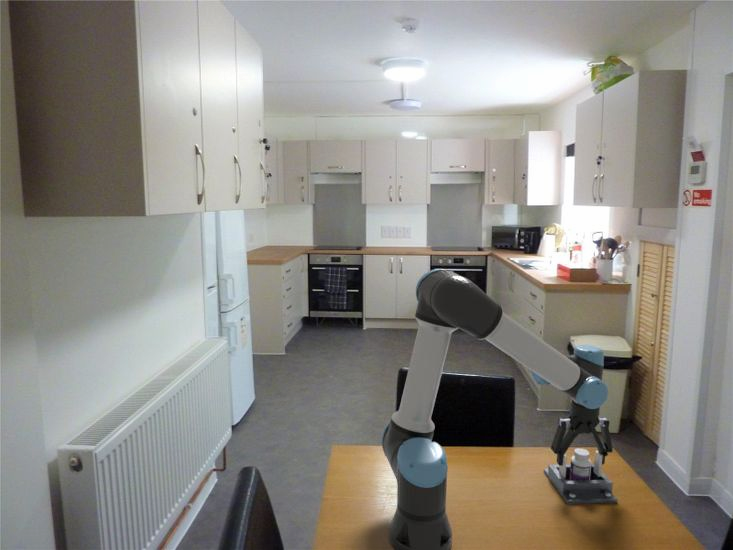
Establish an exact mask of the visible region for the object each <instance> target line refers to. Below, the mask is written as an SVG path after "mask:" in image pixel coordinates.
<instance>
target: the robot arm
mask: <svg viewBox="0 0 733 550" xmlns="http://www.w3.org/2000/svg"><path fill="white" fill-rule="evenodd" d="M415 296H416V300H417V304H416V306H417V307H416V310H415V313H414V314H415V315H414V318H415V320H416V321H417V323H418V328H417V332H416V337H415V340H414V341H415V342H414V345H413V349H412V352H411V357H410V362H409V366H408V371H407V374H406V379H405V383H404V388H403V391H402V392H403V393H402V395H401V401H400V405H399V408H398V410H397V411H395V412H393V413H392V414H391V419H390V421H389V422H388V423H387V424H386V425H385V427H383V431H382V433H381V447H382V450H383V453H384V456H385V458H386V459H387V462H388V464H389V465H390V469H391V470H392V473H393V474H394V476H395V479H396V483H397V484H396V486H397V487H396V489H397V491H396V494H397V495H396V504H397V505H396V509H395V511H394V514H393V518H392V520H391V523H390V525H389V542H390V544H391V546H392V547H393V549H394V550H451V548H452V544H453V532H452V531H453V530H452V528H451V524H450V521H449V518H448V515H447V509H446V506H447V505H446V504H447V481H448V480H447V479H448V472H449V471H448V469H449V465H448V457H447V454H446V451H445V449H444V448H443V447H442V445H440V444H439V443H438V442H436V441H432V440H433V437H434V433H435V432H434V431H435V428H436V427H435V423H434V422H433V420H432V415H433V411H434V407H435V403H436V399H437V394H438V391H439V387H440V383H441V379H442V378H441V377H442V375H443V371H444V370H443V369H444V366H445V362H446V358H447V354H448V350H449V346H450V342H451V337H452V333H453V332H455V331H457V330H461V331H463V332H464V333H467V334H468V335H471V336H472V337H474V338H475V339H476V340H478V341H479V340H480V341H481V340H482V341H484V340H485V341H487V342H488V343H490V344H492V345H493V346H494V347H496V348H497V349H499V350H500V351H501V352H503V353H505V354H506V355H507V356H509V357H511V358H512V359H514V360H516V362H518V363H519V364H521V365H523V366H524V367H526V368H527V369H529V370H530V372H531V376H532V379H533V380H534V382H535V383H536V384H537V385H540V386H543V385H544V386H550V385H551V386H554V387H555V388H556V389H558V390H559V391H560V392H562V393H564V394H565V395H566V396H568V397H569V398H571V399H570V407H569V417H568V418H562V417H558V419H557V420H558V422H557V423H558V425H557V429H556V431H555V434H554V436H553V439H552V442H551V446H550V449H551V451H552V452H553V453H554V454H555V455H556V462H557V463H556V464H558V465H559V472H560V473H561V475H562V476H563V477H564V478H565V477H566V464H568V463H567V461H568V460H567V459H568V455H566V452H567V451H568V450H569V448H570V446H571V445H572V443H573V442H574V440H575V439H576V438H577V437H578V436H579V435H581V434H590V436H591V438H592V440H593V442H594V444H595V446H596V448H597V450H595V451H594V462H593V464H594V471H593V472H594V473H595V474H596V475H597V476H598V477H601V471H602V469H603V468H602V466H603V465H605V461H606V457H608V455H609V454H610V453H611V454H612V453H613V451H614V450H613V444H612V438H611V433H610V421H609V420H608V418H606V417H605V416H602V417H600V408H601V407H602V406H603V405H604V404H605V403H606V401H607V399H608V397H609V389H608V386H607V384H606V383H605V382H603V374H604V366H605V364H604V363H605V362H604V361H605V355H604V351H603V350H602V349H601V348H599V347H598V346H594V345H589V344H579V345H576V346H575V347H574V350H573V354H567V355H564V354H563V353H561V352H560V351H559V350H557V349H556V348H554V347H553V346H552V345H550V344H549V343H548V342H545V341H544V340H543V339H542V338H540V337H539V336H537V335H536V334H535V333H533V332H531V331H530V330H529V329H527V328H526V327H524V326H523V325H522V324H520V323H519V322H517V321H516V320H514V319H513V318H512V317H511V316H509V315H507V314H506V313H505V312H504V308H503V306H502V305H501V304H500V303H498V302H496V301H495V300H494V299H492V298H491V296H489V295H488V294H487V293H486V292H484V290H482V289H481V288H480V287H479V286H478V285H477V284H475V283H474V282H473V281H472V280H470V279H469V278H467V277H466V276H462V275H459V274H458V273H456V272H454V271H452V270H449V269H443V268H436V269H435V268H434V269H431V270H428V271H427V272H425V273H423V275H422V276H421V277H420V278H419V280H418V281H417V284H416V287H415ZM569 424H570V425H569ZM598 425H599V427H600V432H601V437H602V440H601V438H600V436H599V433H598V432H597V430H596V428H597V427H598ZM567 428H568V429H567ZM566 430H567V432H566Z"/></svg>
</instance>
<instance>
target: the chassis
mask: <svg viewBox="0 0 733 550" xmlns="http://www.w3.org/2000/svg"><path fill="white" fill-rule="evenodd" d="M570 466H571V463H566V477H565V478H564V477H563V476H562V475H561V473H560V472H559V465H558V463H556V464H548V468H543V473H544V474H545V476H546V477H547V478H548V479H549V481H550V482H551V484H552V486H554V489H556V490H557V493H559V495H560V497H562V499H563V500H564V501H565V502H566V504H567V505H573V504H574V505H576V504H577V505H578V504H580V505H581V504H608V503H611V504H612V503H613V504H614V503H618V501H619V499H618V497H617V496H615V494H614V493H613V485H614V483H613V481H612V480H611V479H610V478H609V477H608V476H607V475H606V474H605V473H604V471H603V470H601V477H598V476H597V475H596V474H595V473H594V472H593V471H594V463H591V474H590V480H579V481H570Z"/></svg>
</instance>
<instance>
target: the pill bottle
mask: <svg viewBox="0 0 733 550" xmlns="http://www.w3.org/2000/svg"><path fill="white" fill-rule="evenodd" d="M573 451H574V453H573V456H571V459H570V464H571V466H570V481H579V480H590V474H591V464H592V460H591V459H590V451H588V450H587V449H586V448H582V447H581V448H575V449H574V450H573Z"/></svg>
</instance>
